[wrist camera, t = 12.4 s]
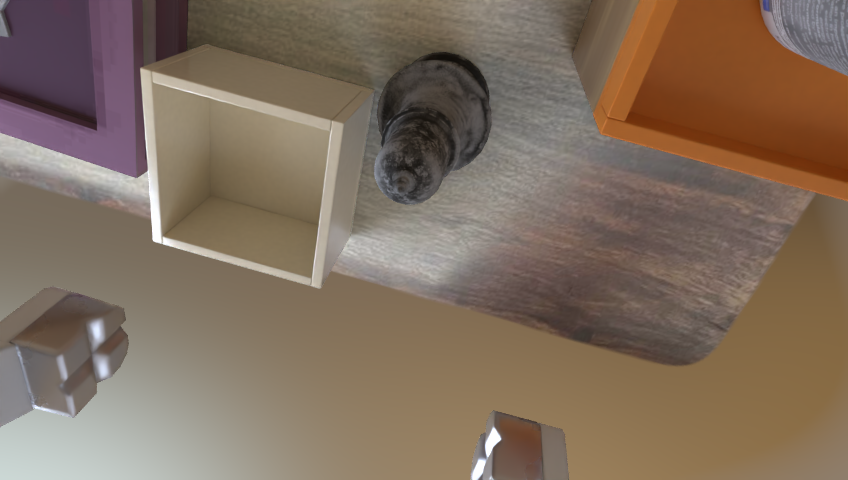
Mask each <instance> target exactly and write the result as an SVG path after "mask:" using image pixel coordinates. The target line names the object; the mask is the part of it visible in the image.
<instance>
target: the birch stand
mask: <svg viewBox="0 0 848 480" xmlns="http://www.w3.org/2000/svg"><path fill="white" fill-rule="evenodd" d="M639 1H640V0H592V2H591V5H590V8H589V11H588V13H587V16H586V19H585V22H584V24H583V27H582V30H581V33H580V35H579V38H578V41H577V44H576V46H575V49H574V52H573V55H572V58H573V61H574V64H575V66H576V69H577V72H578V74H579V77H580V80H581V83H582V85H583V88H584V91H585V93H586V96H587V99H588V102H589V104H590V107H591V110H592V112H593V113H594V111H595V108H596V106H597V104H598V101H599V99H600V96H601V94H602V91H603V89H604V86H605V84H606V82H607V79H608V77H609V74H610V72H611V69H612V67H613V64H614V62H615V59H616V57H617V55H618V52H619V50H620V47H621V45H622V42H623V40H624V37H625V35H626V33H627V30H628V28H629V25H630V23H631V20H632V18H633V15H634V13H635V10H636V8H637V6H638V3H639Z"/></svg>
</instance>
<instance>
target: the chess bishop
mask: <svg viewBox="0 0 848 480" xmlns="http://www.w3.org/2000/svg"><path fill="white" fill-rule="evenodd" d="M377 119H378V127H379V131H380V133H381V136H382V141H381V146H382V148H381V150H380V151H379V153H378V155H377V158H376V161H375V168H374V173H375V180H376V182H377V184H378V187H379V188H380V189H381V191H382V192H383V193H384V194H385V195H386V196H387V197H388V198H390V199H391V200H393V201H395V202H397V203H401V204H406V205H409V204H418V203H421V202H424V201H425V200H427V199H429V198H430V197H431V196H432V195H433V194H434V193H435V192H436V191H437V190H438V188H439V186H440V185H441V183H442V180H443V178H444V177H446V176H447V175H448V174H449V173H450V172H451V171H455V170H458V169H460V168H462V167H464V166H465V165H467V164H469V163H470V162H472V161H473V160H474V159H475V158H476V156H477V155H478V154H479V153H480V152H481V151H482V149H483V147H484V145H485V144H486V142H487V140H488V137H489V133H490V128H491V108H490V105H489V90H488V87H487V84H486V80H485V79H484V77H483V76H482V74H481V72H480V71H479V69H478V68H477V67H476V66H474V65H473V64H472V63H471V62H470V61H469V60H467V59H465V58H463V57H461V56H459V55H457V54H452V53H447V52H439V53H431V54H428V55H426V56H423V57H421V58H419V59H418V60H416V61H415V62H414V63H412V64H411V65H408V66H406V67H404V68H403V69H401V70H400V71H399V72H397V73H396V74H394V75H393V77H392V78H391V79H390V80H389V82H388V83H387V84H386V86H385V87H384V89H383V91H382V94H381V96H380V99H379V102H378V110H377Z"/></svg>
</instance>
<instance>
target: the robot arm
mask: <svg viewBox="0 0 848 480" xmlns="http://www.w3.org/2000/svg"><path fill="white" fill-rule="evenodd" d="M125 320H126V318H125V312H124V308H122V307H119V306H117V305H114V304H110V303H107V302H104V301H101V300H97V299H94V298H90V297H88V296H85V295H81V294H78V293H74V292H71V291H67V290H64V289H61V288H57V287H54V286H53V287H49V288H45V289H43V290H42V291H40V292H39V293H37V294H36V295H35V296H33V297H32V298H31V299H30V300H28V301H27V302H25V303H24V304H23V305H21V306H20V307H19V308H17V309H16V310H15V311H13V312H12V313H11V314H10V315H8V316H7V317H6V318H4V319H3V320H2V321H1V322H0V427H1V426H3V425H5V424H7V423H9V422H11V421H13V420H15V419H16V418H19V417H20V416H22V415H24V414H26V413H28V412H30V411H32V410H33V408H36V409H40V410H45V411H48V412H52V413H56V414H60V415H64V416H68V417H72V418H74V417H75V416H76V415H77V414H78V412H80V411H81V410H82V408H83V407H84V406H85V405H86V404H87V403H88V402H89V401H90V400H91V399H92V397H93V396H94V395H95V394H96V393H97V383H98V382H101V381H103V380H105V379H108V378H110V377H112V375H113V374H114V373H115V372H116V371H117V370H118V369H119V367H120V366H121V364H122V362H123V360H124V358H125V356H126V354H127V350H128V344H129V343H128V335H127V334H126V333H125V332H124V330H123V329H122V327H121V326H120V325H121V324H122V323H123V322H124V321H125ZM471 480H569V474H568V463H567V453H566V443H565V434H564V432H563V430H562V429H559V428H555V427H552V426H548V425H545V424H541V423H537V422H534V421H531V420H527V419H523V418H519V417H516V416H512V415H509V414H505V413H501V412H497V411H494V410H493V411H492V412H491V413H490V415H489V417H488V419H487V424H486V432H485V433H483V434H481V435H480V438H479V440H478V443H477V446H476V450H475V453H474V457H473V462H472V469H471Z"/></svg>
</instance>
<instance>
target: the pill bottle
mask: <svg viewBox="0 0 848 480" xmlns="http://www.w3.org/2000/svg"><path fill="white" fill-rule="evenodd" d="M759 2H760V9H761V14H762V17H763V20H764V23H765V25H766V27H767V29H768V30H769V32H770V33H771V35H772V36H773V37H774V38H775V39H776V40H777V41H778V42H779V43H780V44H782V45H783V46H784V47H786V48H787V49H789V50H791V51H792V52H794V53H796V54H799V55H801V56H803V57H805V58H807V59H810V60H812V61H815V62H817V63H819V64H821V65H824V66H826V67H828V68H830V69H833V70H835V71H837V72H840V73H842V74H844V75H847V76H848V0H759Z"/></svg>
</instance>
